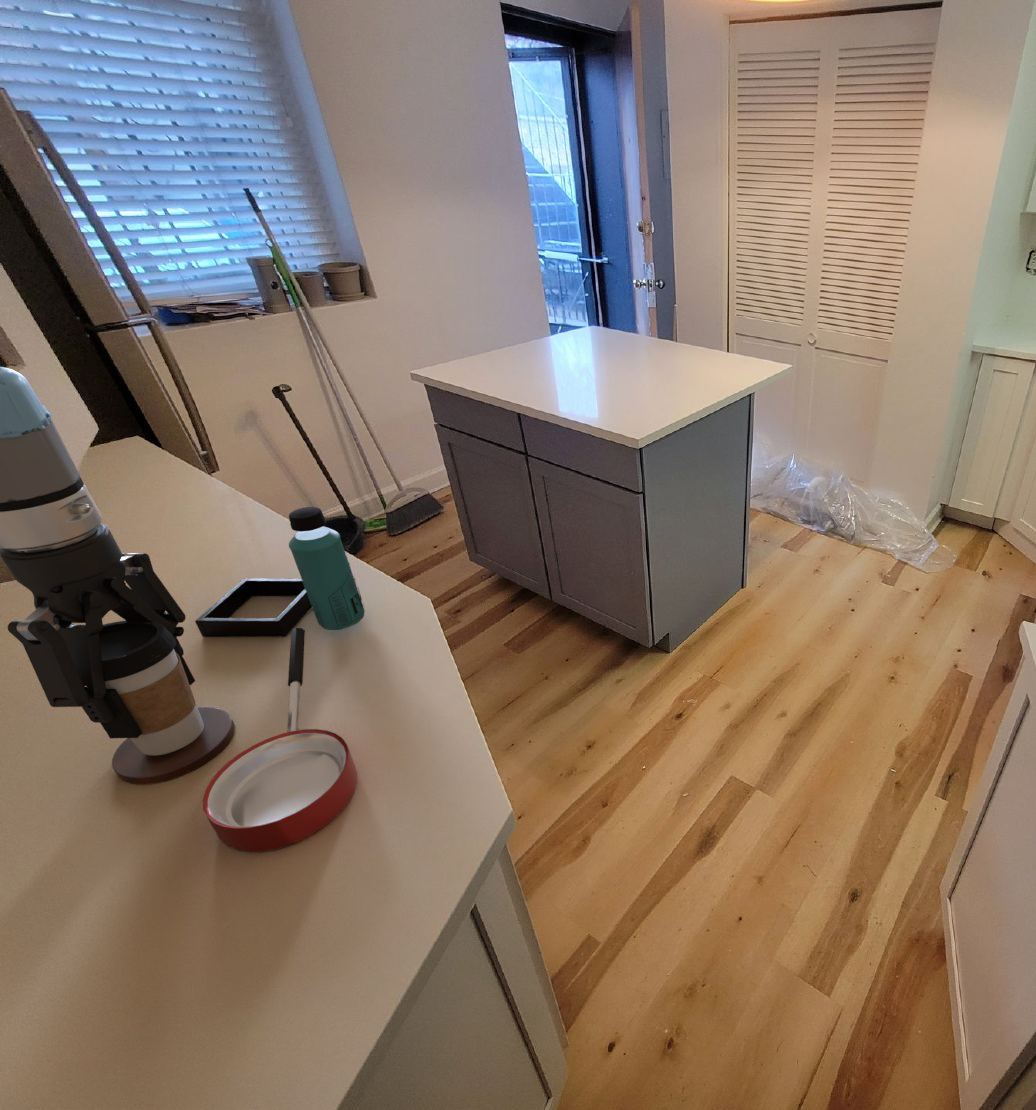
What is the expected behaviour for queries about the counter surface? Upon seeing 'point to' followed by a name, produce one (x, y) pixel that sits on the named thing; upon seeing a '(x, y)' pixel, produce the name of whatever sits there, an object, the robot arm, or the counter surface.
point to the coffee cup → (150, 684)
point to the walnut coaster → (175, 752)
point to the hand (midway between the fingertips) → (155, 707)
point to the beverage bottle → (324, 570)
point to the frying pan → (282, 780)
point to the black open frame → (221, 625)
